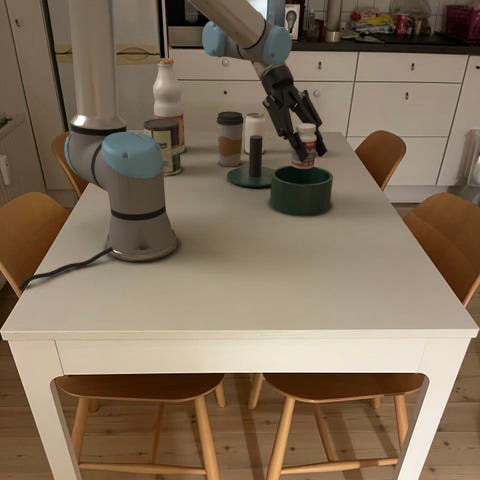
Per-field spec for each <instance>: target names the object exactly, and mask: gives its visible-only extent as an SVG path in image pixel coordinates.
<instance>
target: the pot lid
mask: <svg viewBox="0 0 480 480" xmlns="http://www.w3.org/2000/svg"><path fill="white" fill-rule="evenodd" d="M262 140H263V137H262V136H259V135H253V136H250V154H248V155H249V156H248V157H249V160H248V166H240V167H236V168H233V169H231V170H229V171H227V173H226V179H227V180H228V181H229V182H231V183H232V184H235V185H238V186H241V187H249V188H264V187H271V175H272V172H273V171H274V170H275V169H276V168H272V167H267V166H262V163H263V153H262Z"/></svg>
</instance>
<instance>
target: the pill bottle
mask: <svg viewBox="0 0 480 480" xmlns="http://www.w3.org/2000/svg"><path fill="white" fill-rule="evenodd" d="M295 130H296V132H298V134H299V136H300V138H301V140H302V143H303V145H304V147H305V149H306V151H307V153H308V155H309V156H308V157H307V158H306V159H305V160H304V161H303V162H300V160H299V158H298V156H297V154H296V152H295V150H294V149H293V148H292V153H291V165H292V166H293V167H295V168H299V169H309V168H312V167H313V166H315V159H316V153H315V150H316V140H317V138H316V135H315V134H314V132H315V131H316V126H315V125H314V124H309V123H302V122H301V123H298V124H296V129H295Z"/></svg>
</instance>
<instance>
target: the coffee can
mask: <svg viewBox="0 0 480 480" xmlns="http://www.w3.org/2000/svg"><path fill="white" fill-rule="evenodd" d="M142 124H143V133H144V134H145V135H148V136H150V137H152V138H153V139H155V140H156V141H157V142H158V144H159V145H160V148H161V153H162V158H163V176H164V177H165V176H173V175H176V174H179V173H180V172H181V171H182V165H181V153H180V145H179V127H178V126H179V122H178V121H176V120H173V119H155V118H153V119H147V120H145V121H144V122H143V123H142Z"/></svg>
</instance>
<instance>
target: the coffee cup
mask: <svg viewBox="0 0 480 480" xmlns="http://www.w3.org/2000/svg"><path fill="white" fill-rule="evenodd" d="M244 121H245V120H244V117H243V114H242V113H241V112H240V111H227V110H226V111H221V112H218V113H217V117H216V125H217V141H218V142H217V143H218V152H219V162H220V165H222V166H224V167H237V166H239V165H240V163H241V158H242V157H241V156H242V147H243V146H242V145H243V129H244V123H245V122H244Z"/></svg>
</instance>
